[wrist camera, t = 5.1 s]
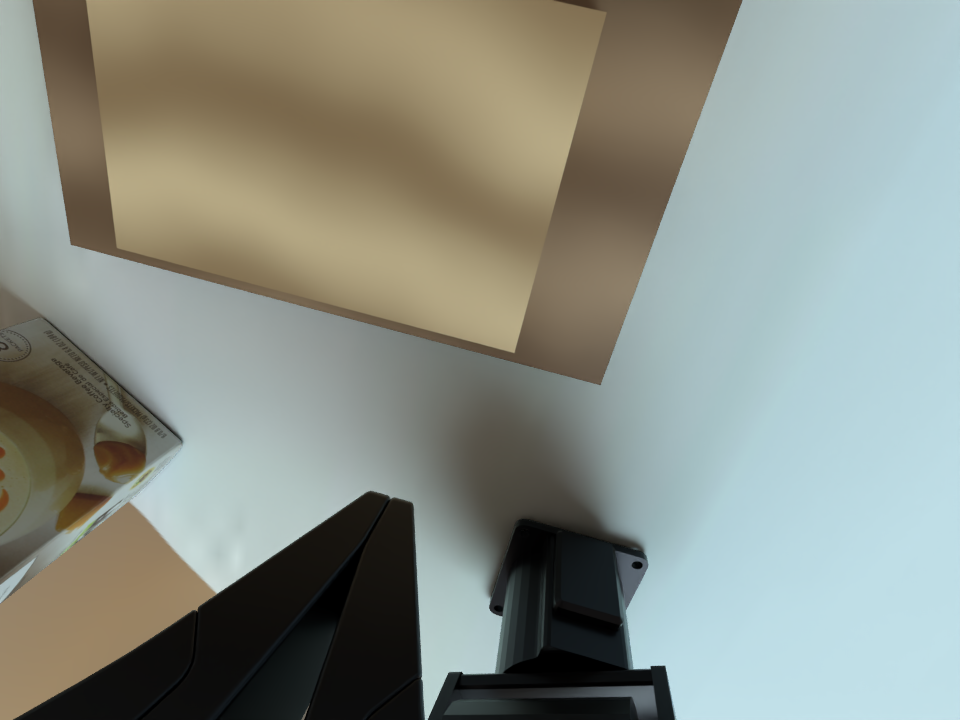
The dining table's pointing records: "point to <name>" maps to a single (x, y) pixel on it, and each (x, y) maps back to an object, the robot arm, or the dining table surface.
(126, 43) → the tan rectangular panel
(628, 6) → the floor board
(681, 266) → the dining table surface
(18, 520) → the coffee box
